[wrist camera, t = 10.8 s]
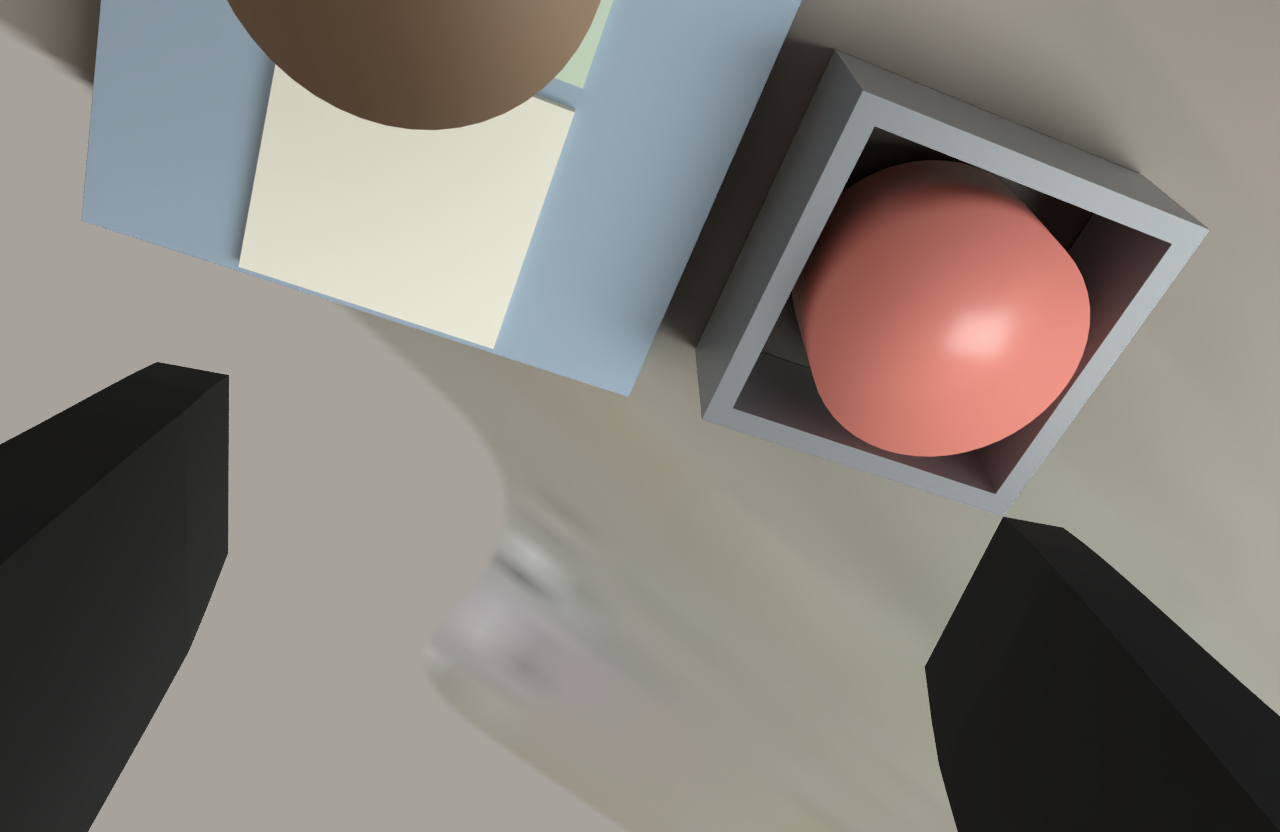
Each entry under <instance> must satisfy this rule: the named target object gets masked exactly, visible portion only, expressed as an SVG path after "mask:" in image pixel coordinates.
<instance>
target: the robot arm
mask: <svg viewBox="0 0 1280 832" xmlns="http://www.w3.org/2000/svg"><path fill="white" fill-rule="evenodd" d="M228 422H229V375H225V374H219V373H214V372H209V371H203V370H198V369H192V368H187V367H181V366H176V365H170V364H165V363H159V362H156V363H154V364H152V365H150V366H148V367H146V368H144V369H142V370H139V371H137V372H135V373H134V374H132V375H130V376H128V377H126V378H124V379H122V380H120V381H119V382H116V383H114V384H112V385H111V386H109V387H107V388H105V389H103V390H101V391H99V392H98V393H96V394H94V395H92V396H91V397H88V398H86V399H85V400H83V401H81V402H79V403H78V404H75V405H74V406H72V407H70V408H68V409H66V410H65V411H63V412H61V413H59V414H57V415H55V416H53V417H51V418H50V419H48V420H46V421H44V422H42V423H40V424H38V425H37V426H35V427H33V428H31V429H29V430H27V431H25V432H23V433H21V434H19V435H18V436H16V437H14V438H12V439H10V440H8V441H6V442H4V443H2V444H0V832H88V831H89V829H90V827H91V825H92V823H93V822H94V820H95V818H96V816H97V815H98V813H99V811H100V809H101V807H102V806H103V804H104V802H105V800H106V799H107V797H108V795H109V793H110V791H111V790H112V788H113V786H114V784H115V783H116V781H117V779H118V777H119V776H120V773H121V772H122V770H123V769H124V767H125V765H126V763H127V761H128V760H129V758H130V756H131V754H132V753H133V751H134V749H135V747H136V745H137V744H138V742H139V740H140V738H141V737H142V735H143V733H144V731H145V730H146V728H147V726H148V724H149V722H150V720H151V719H152V717H153V715H154V713H155V711H156V710H157V708H158V706H159V704H160V702H161V701H162V699H163V697H164V695H165V693H166V692H167V690H168V688H169V686H170V684H171V683H172V681H173V679H174V677H175V675H176V673H177V672H178V670H179V668H180V666H181V664H182V663H183V661H184V659H185V657H186V655H187V653H188V651H189V649H190V647H191V645H192V642H193V640H194V637H195V635H196V632H197V630H198V628H199V625H200V623H201V620H202V618H203V616H204V613H205V611H206V608H207V606H208V603H209V601H210V598H211V595H212V593H213V590H214V588H215V585H216V582H217V580H218V577H219V575H220V572H221V570H222V567H223V564H224V562H225V559H226V557H227V554H228V444H229V432H228V431H229V429H228V428H229V423H228ZM925 672H926V680H927V687H928V695H929V703H930V711H931V719H932V725H933V731H934V737H935V743H936V749H937V755H938V761H939V766H940V770H941V773H942V777H943V781H944V785H945V788H946V792H947V795H948V799H949V802H950V806H951V809H952V813H953V816H954V820H955V823H956V827H957V830H958V832H1280V716H1279V715H1278V714H1276V713H1275V712H1274V711H1273V710H1272V709H1271V708H1270V707H1268V706H1267V705H1266V704H1265V703H1264V702H1263V701H1262V700H1260V699H1259V698H1258V697H1257V696H1256V695H1255V694H1254V693H1252V692H1251V691H1250V690H1249V689H1248V688H1247V687H1246V686H1244V685H1243V684H1242V683H1241V682H1240V681H1239V680H1238V679H1237V678H1236V677H1234V676H1233V675H1232V674H1231V673H1230V672H1229V671H1228V670H1227V669H1225V668H1224V667H1223V666H1222V665H1221V664H1220V663H1219V662H1218V661H1216V660H1215V659H1214V658H1213V657H1212V656H1211V655H1210V654H1209V653H1208V652H1206V651H1205V650H1204V649H1203V648H1202V647H1201V646H1200V645H1199V644H1198V643H1197V642H1195V641H1194V640H1193V639H1192V638H1191V637H1190V636H1189V635H1188V634H1187V633H1185V632H1184V631H1183V630H1182V629H1181V628H1180V627H1179V626H1178V625H1177V624H1176V623H1174V622H1173V621H1172V620H1171V619H1170V618H1169V617H1168V616H1167V615H1166V614H1164V613H1163V612H1162V611H1161V610H1160V609H1159V608H1158V607H1157V606H1156V605H1154V604H1153V603H1152V602H1151V601H1150V600H1149V599H1148V598H1147V597H1146V596H1145V595H1143V594H1142V593H1141V592H1140V591H1139V590H1138V589H1137V588H1136V587H1134V586H1133V585H1132V584H1131V583H1130V582H1129V581H1128V580H1126V579H1125V578H1124V577H1123V576H1122V575H1121V574H1120V573H1118V572H1117V571H1116V570H1115V569H1114V568H1113V567H1112V566H1110V565H1109V564H1108V563H1107V562H1106V561H1105V560H1103V559H1102V558H1101V557H1100V556H1099V555H1098V554H1096V553H1095V552H1094V551H1093V550H1091V549H1090V548H1089V547H1088V546H1086V545H1085V544H1084V543H1083V542H1081V541H1080V540H1079V539H1077V538H1076V537H1075V536H1073V535H1072V534H1071V533H1069V532H1068V531H1067V530H1065V529H1064V528H1062V527H1056V526H1051V525H1045V524H1040V523H1034V522H1029V521H1023V520H1018V519H1012V518H1007V517H1003V518H1002V520H1001V522H1000V524H999V526H998V528H997V530H996V532H995V534H994V535H993V537H992V539H991V541H990V543H989V545H988V547H987V549H986V551H985V553H984V555H983V557H982V558H981V560H980V562H979V564H978V566H977V568H976V570H975V572H974V574H973V576H972V578H971V580H970V581H969V583H968V585H967V587H966V589H965V591H964V593H963V595H962V597H961V599H960V601H959V603H958V604H957V606H956V608H955V610H954V612H953V614H952V616H951V618H950V620H949V622H948V624H947V625H946V627H945V629H944V631H943V633H942V635H941V637H940V639H939V641H938V643H937V645H936V647H935V648H934V650H933V652H932V654H931V656H930V658H929V660H928V662H927V664H926V666H925Z"/></svg>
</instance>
